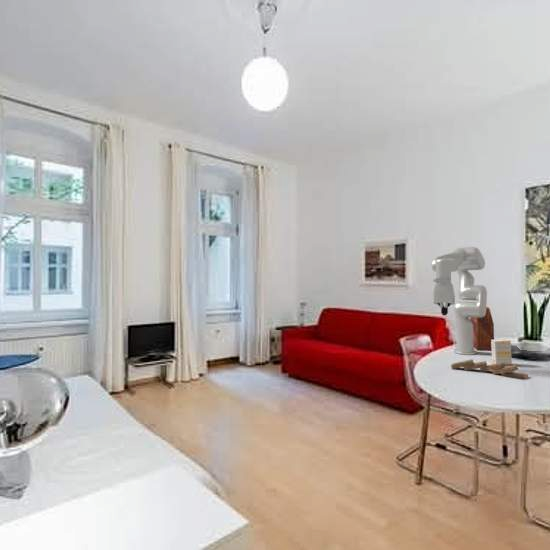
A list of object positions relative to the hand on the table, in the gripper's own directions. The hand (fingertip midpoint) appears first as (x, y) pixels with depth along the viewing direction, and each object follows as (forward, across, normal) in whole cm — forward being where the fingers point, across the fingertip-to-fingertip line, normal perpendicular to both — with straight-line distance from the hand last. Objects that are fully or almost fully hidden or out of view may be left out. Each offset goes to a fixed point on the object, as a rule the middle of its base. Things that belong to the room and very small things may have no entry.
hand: (444, 314), depth 211 cm
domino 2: (+26, +11, -6) cm, 29 cm away
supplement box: (+27, +25, +15) cm, 40 cm away
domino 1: (+26, +5, -7) cm, 27 cm away
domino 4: (+26, +25, -8) cm, 37 cm away
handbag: (+27, +8, +59) cm, 66 cm away
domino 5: (+27, +28, -8) cm, 39 cm away
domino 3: (+26, +19, -5) cm, 33 cm away
